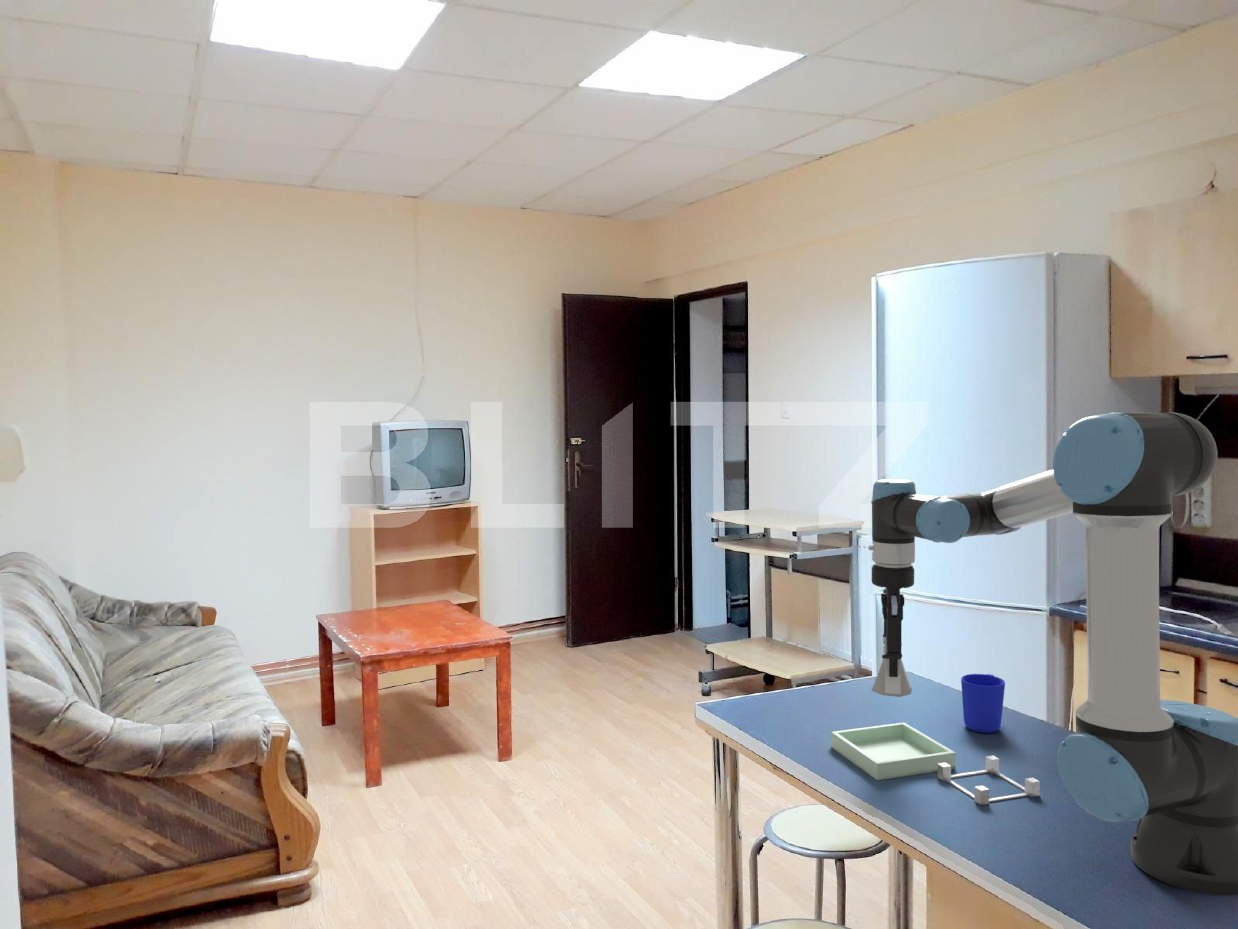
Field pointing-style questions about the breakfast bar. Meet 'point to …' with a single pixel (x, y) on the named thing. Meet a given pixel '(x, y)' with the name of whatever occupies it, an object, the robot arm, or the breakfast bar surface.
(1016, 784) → the socket
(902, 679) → the flask
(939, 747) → the bin
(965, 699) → the mug
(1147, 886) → the breakfast bar surface
